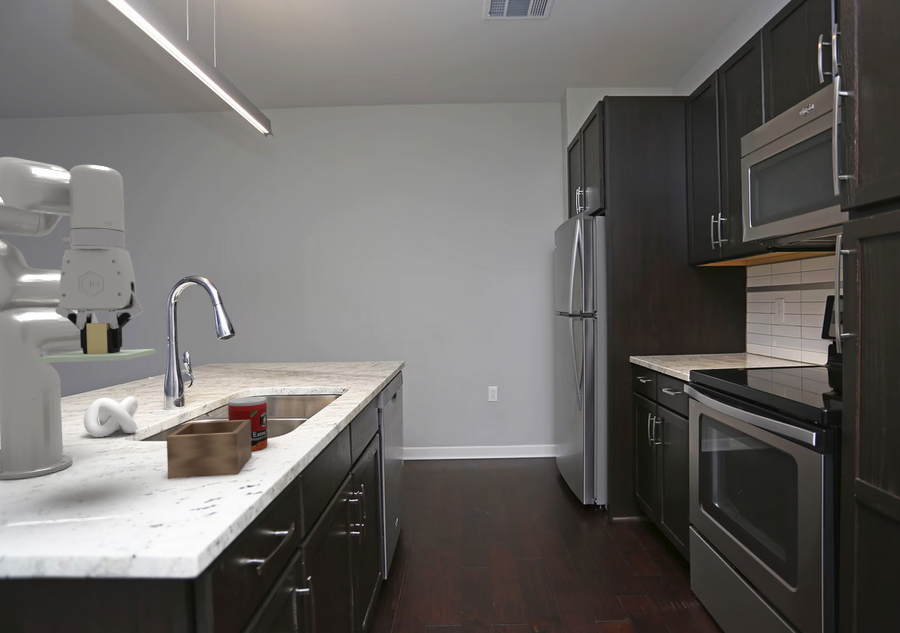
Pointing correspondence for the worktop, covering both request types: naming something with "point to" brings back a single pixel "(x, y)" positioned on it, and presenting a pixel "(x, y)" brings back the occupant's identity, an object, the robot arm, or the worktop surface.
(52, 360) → the lid
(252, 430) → the canned food
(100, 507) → the worktop surface
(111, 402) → the white knot sculpture
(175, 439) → the box
